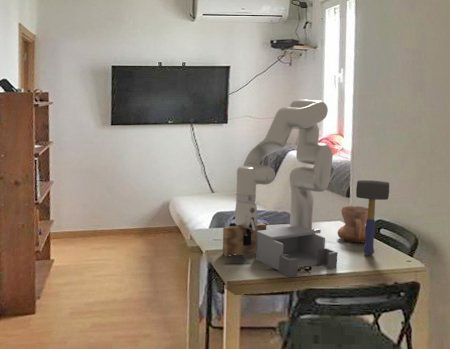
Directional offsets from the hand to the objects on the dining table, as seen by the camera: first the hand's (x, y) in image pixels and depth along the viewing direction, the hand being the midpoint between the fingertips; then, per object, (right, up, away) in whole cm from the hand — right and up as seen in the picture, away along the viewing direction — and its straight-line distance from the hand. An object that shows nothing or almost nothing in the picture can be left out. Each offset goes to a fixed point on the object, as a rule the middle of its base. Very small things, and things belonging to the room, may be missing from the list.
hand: (244, 243), depth 222 cm
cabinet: (+18, -6, -12) cm, 23 cm away
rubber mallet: (+49, -5, +1) cm, 49 cm away
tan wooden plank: (0, -4, +1) cm, 4 cm away
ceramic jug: (+48, -2, +23) cm, 53 cm away
